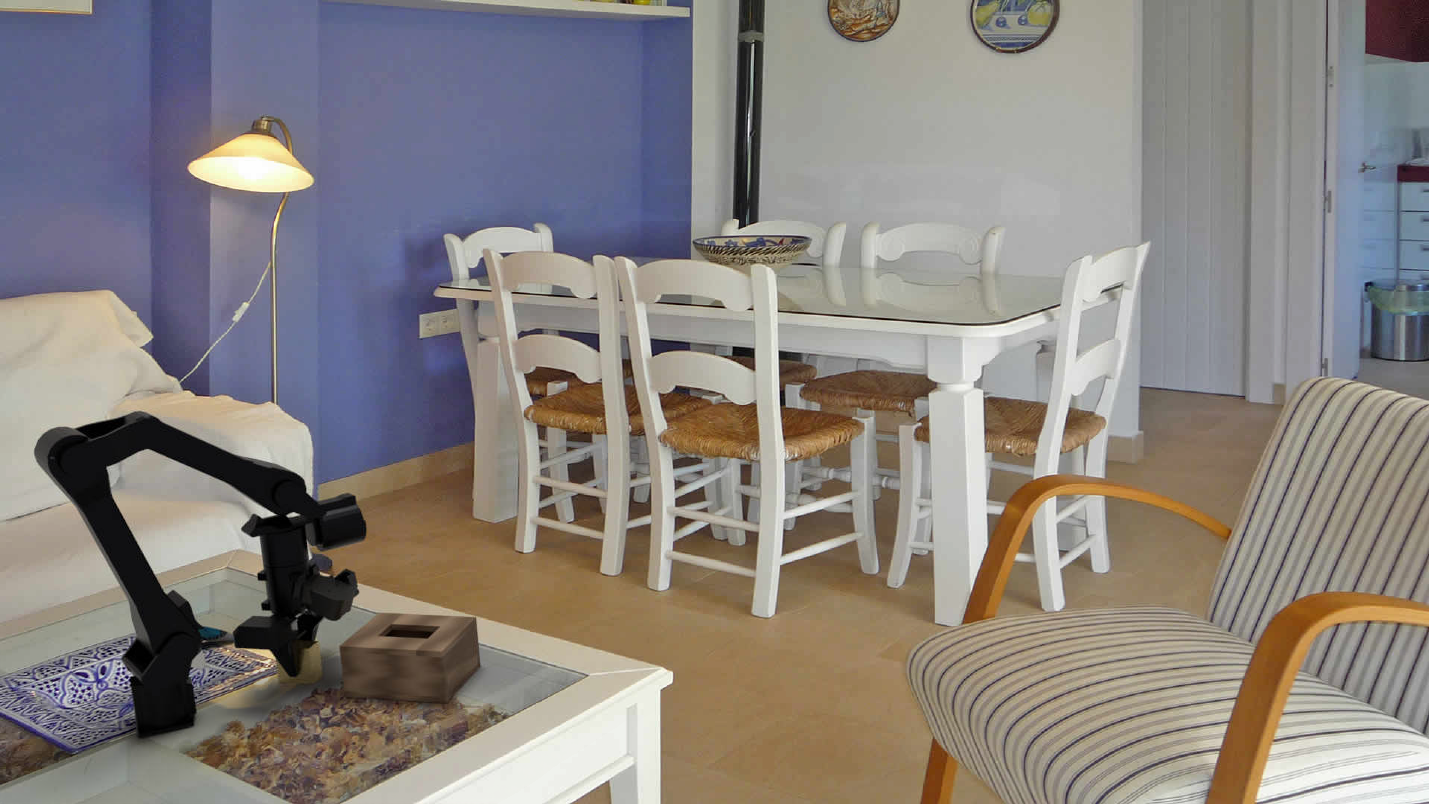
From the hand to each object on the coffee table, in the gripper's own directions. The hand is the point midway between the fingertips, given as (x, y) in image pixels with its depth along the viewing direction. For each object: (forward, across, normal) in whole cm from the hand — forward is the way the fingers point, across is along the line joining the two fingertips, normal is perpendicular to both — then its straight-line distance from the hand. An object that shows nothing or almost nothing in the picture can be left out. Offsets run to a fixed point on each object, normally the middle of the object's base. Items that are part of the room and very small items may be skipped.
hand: (299, 671), depth 166 cm
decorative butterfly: (+2, +6, +20) cm, 21 cm away
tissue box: (+1, +1, -16) cm, 16 cm away
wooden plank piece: (+1, 0, 0) cm, 1 cm away
